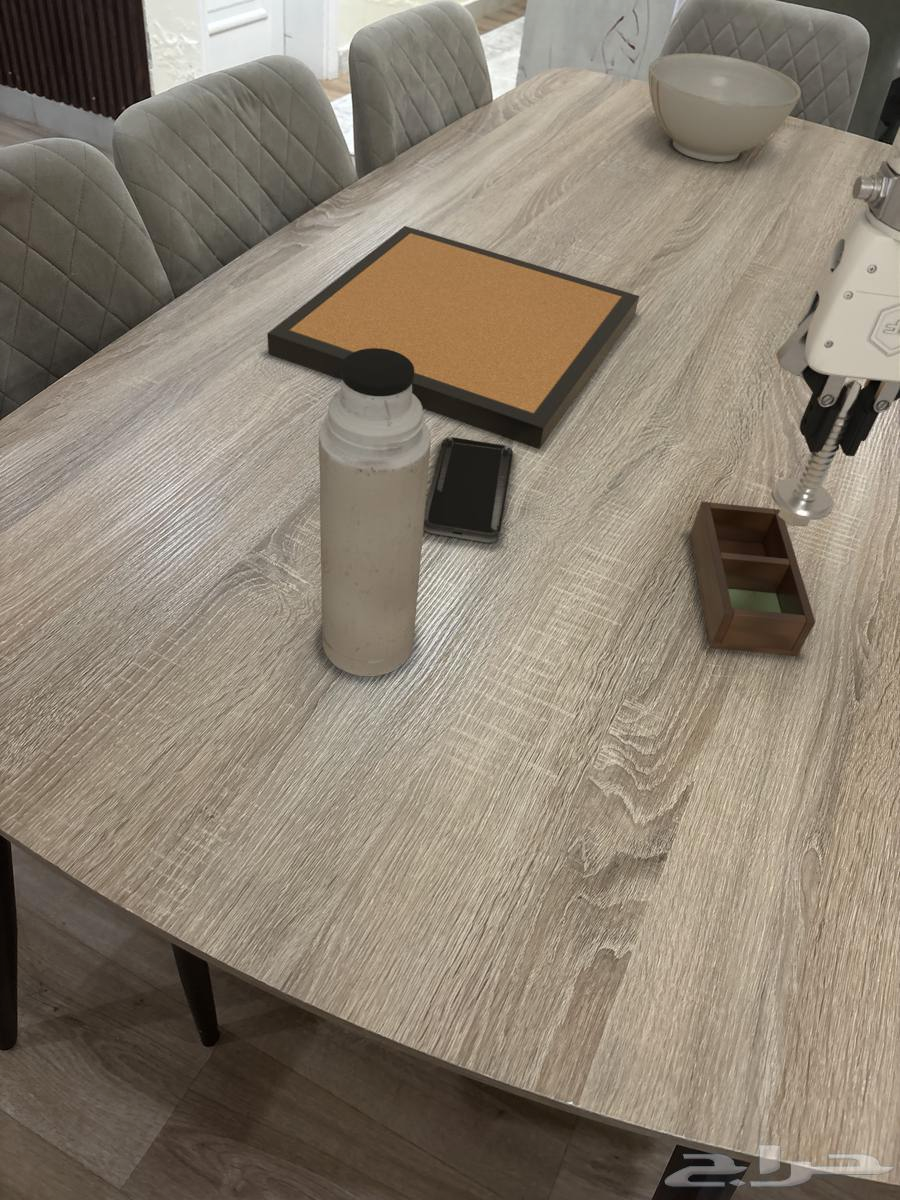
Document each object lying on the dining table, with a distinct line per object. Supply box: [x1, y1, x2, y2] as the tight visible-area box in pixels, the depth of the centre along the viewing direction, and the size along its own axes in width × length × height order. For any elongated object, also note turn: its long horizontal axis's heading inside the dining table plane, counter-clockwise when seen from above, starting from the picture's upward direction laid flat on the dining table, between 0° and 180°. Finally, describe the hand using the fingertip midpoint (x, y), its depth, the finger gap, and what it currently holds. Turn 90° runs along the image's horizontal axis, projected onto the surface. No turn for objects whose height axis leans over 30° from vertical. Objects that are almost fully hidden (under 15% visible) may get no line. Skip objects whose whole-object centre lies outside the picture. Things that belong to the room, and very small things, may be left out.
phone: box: [423, 436, 514, 544], centre depth 98 cm, size 8×1×15 cm
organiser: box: [689, 501, 816, 657], centre depth 90 cm, size 8×15×5 cm, turn 177°
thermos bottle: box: [318, 348, 432, 677], centre depth 73 cm, size 8×8×28 cm
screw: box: [771, 379, 863, 527], centre depth 72 cm, size 13×5×5 cm
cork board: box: [266, 225, 640, 450], centre depth 120 cm, size 36×3×35 cm
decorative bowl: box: [648, 52, 802, 163], centre depth 170 cm, size 27×27×12 cm
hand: (827, 442), depth 72 cm, fingers closed on screw, 2 cm apart
